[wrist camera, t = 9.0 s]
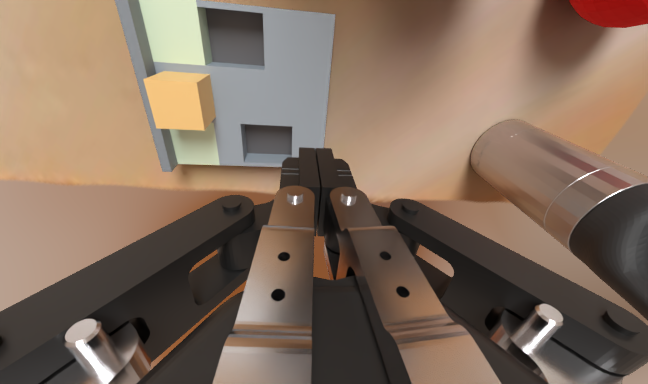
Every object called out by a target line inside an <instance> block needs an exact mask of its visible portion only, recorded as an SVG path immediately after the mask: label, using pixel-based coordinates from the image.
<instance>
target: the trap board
mask: <svg viewBox="0 0 648 384" xmlns="http://www.w3.org/2000/svg"><path fill="white" fill-rule="evenodd" d="M115 2H116V6H117V10H118V13H119V17H120V20H121V24H122V28H123V31H124V35H125V38H126V42H127V45H128V49H129V53H130V56H131V60H132V63H133V67H134V71H135V74H136V78H137V81H138V85H139V89H140V92H141V96H142V99H143V103H144V107H145V110H146V114H147V117H148V121H149V125H150V128H151V132H152V135H153V139H154V142H155V146H156V150H157V153H158V157H159V160H160V164H161V168H162V171H165V172H172V171H173V169H174V168H175V167H176V166H177V164H195V165H228V166H262V167H282V162H283V161H284V160H285V159H286V158H287V157H297V158H299V147H305V148H315V149H316V148H324V138H325V127H326V116H327V104H328V93H329V82H330V71H331V59H332V48H333V37H334V25H335V14H327V13H317V12H307V11H298V10H288V9H278V8H269V7H259V6H250V5H240V4H230V3H221V2H211V1H201V0H115ZM163 71H171V72H185V73H199V74H210V78H211V86H212V93H213V100H214V107H215V114H216V117H215V118H214V120H213V121H212V122H211V123H210V125H209V126H208V127H207V128H206V130H205V131H203V130H181V129H158V128H156V125H155V121H154V118H153V114H152V110H151V106H150V103H149V99H148V95H147V91H146V88H145V84H144V80H143V79H145V78H148V77H150V76H153V75H155V74H158V73H160V72H163Z"/></svg>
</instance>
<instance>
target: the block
mask: <svg viewBox="0 0 648 384" xmlns="http://www.w3.org/2000/svg"><path fill="white" fill-rule="evenodd" d="M143 80H144V84H145V88H146V91H147V95H148V99H149V103H150V106H151V110H152V114H153V118H154V121H155V125H156V128H158V129H181V130H203V131H205V130H206V128H207V127H208V126H209V125H210V123H211V122H212V121H213V120H214V118H215V117H216V114H215V107H214V100H213V93H212V86H211V78H210V74H199V73H185V72H171V71H163V72H160V73H158V74H155V75H153V76H150V77H148V78H145V79H143Z"/></svg>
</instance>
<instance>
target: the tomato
mask: <svg viewBox="0 0 648 384" xmlns="http://www.w3.org/2000/svg"><path fill="white" fill-rule="evenodd" d="M569 2H570V4H571V5H572V7H573V8H574V9H575V11H576V12H577V13H578V14H579V15H580V16H581V17H582V18H584V19H585V20H587V21H589V22H591V23H593V24H596V25H599V26H602V27H617V28H626V27H632V26H637V25H643V24H648V0H569Z"/></svg>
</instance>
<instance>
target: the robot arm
mask: <svg viewBox="0 0 648 384" xmlns="http://www.w3.org/2000/svg"><path fill="white" fill-rule="evenodd" d="M471 166H472V168H473V170H474V171H475V172H476V173H477V174H478V175H480V176H481V177H482V178H483V179H484V180H486V181H487V182H488V183H489V184H490V185H491V186H492V187H494V188H495V189H496V190H497V191H498V192H500V193H501V194H502V195H503V196H504V197H506V198H507V199H508V200H509V201H510V202H512V203H513V204H514V205H515V206H516V207H518V208H519V209H520V210H521V211H522V212H524V213H525V214H526V215H527V216H528V217H530V218H531V219H532V220H533V221H534V222H536V223H537V224H538V225H539V226H540V227H542V228H543V229H544V230H545V231H546V232H547V233H549V234H550V235H551V236H552V237H554V238H555V239H556V240H557V241H558V242H560V243H561V244H562V245H563V246H565V247H566V248H567V249H568V250H569V251H570V252H572V253H573V254H574V255H575V256H576V257H577V258H579V259H580V260H581V261H582V262H583V263H585V264H586V265H587V266H588V267H589V268H590V269H591V270H592V271H593V272H594V273H595V274H596V275H597V276H598V277H599V278H600V279H602V280H603V281H604V282H605V283H606V284H607V285H608V286H610V287H611V288H612V289H613V290H615V292H617V293H618V294H619V295H620V296H621V297H622V298H624V299H625V300H626V301H627V302H628V303H629V304H630V305H632V307H634V308H635V309H636V310H637V311H638V312H639V313H640V314H641V315H642V316H643V317H645V318H646V319H647V320H648V176H646V175H644V174H641V173H639V172H637V171H635V170H632V169H630V168H627V167H625V166H623V165H620V164H618V163H616V162H614V161H611V160H609V159H607V158H605V157H602V156H600V155H598V154H596V153H593V152H591V151H589V150H587V149H584V148H582V147H580V146H578V145H575V144H573V143H571V142H569V141H566V140H564V139H562V138H560V137H557V136H555V135H553V134H551V133H548V132H546V131H544V130H542V129H540V128H537V127H535V126H533V125H531V124H528V123H526V122H524V121H521V120H507V121H504V122H501V123H498V124H496V125H495V126H493V127H491V128H490V129H489V130H487V131H486V132H485V133H484V134H483V135H482V136H481V137H480V138H479V140H478V141H477V142H476V144H475V146H474V148H473V150H472V153H471ZM316 231H317V234H318V236H324V238H325V244H324V255H325V259H326V264H327V268H328V272H329V277H330V280H327V279H322V278H317V277H313V263H314V236H316ZM420 244H421V245H422V246H424V247H426V248H427V249H429V250H430V251H432V252H433V253H435V254H437V255H438V256H440V257H442V258H443V259H445V260H446V261H448V262H449V263H450V264H451V265H452V267H453V269H454V276H453V277H450V276H448V275H446V274H445V273H443V272H442V271H440V270H439V269H437V268H435V267H434V266H432V265H431V264H429V263H428V262H426V261H425V260H423V259H422V258H420V257H419V256H417V255H416V253H417V250H418V248H419V245H420ZM216 249H217V251H218V254H216V255H215V256H214V257H212V258H211V259H209V260H208V261H206V262H205V263H203V264H202V265H200V266H199V267H198V268H196V269H195V270H193V271H192V272H190V270H191V269H192V267H193V266H194V265H195V264H196V263H197V262H199V261H200V260H202V259H203V258H205V257H206V256H208V255H209V254H211V253H212V252H214V251H215V250H216ZM189 272H190V273H189ZM246 280H247V283H246V286H245V290H244V291H242V292H240V293H238V294H237V295H235V296H233V297H231V298H230V299H229V300H227V301H226V302H224V303H223V304H222V305H221V306H220V307H218V308H217V309H216V310H215V311H214V312H213V313H212V314H211V315H210V316H209V317H208V318H206V319H205V320H204V321H203V322H202V323H201V324H200V325H199V326H198V327H197V328H196V329H195V330H194V331H193V332H191V333H190V334H189V335H188V336H187V337H186V338H185V339H184V340H183V341H182V342H181V343H180V344H178V345H177V346H176V347H175V348H174V349H173V350H172V351H171V352H170V353H169V354H168V355H167V356H166V357H164V358H163V359H162V360H161V361H160V362H159V363H158V364H157V365H156V366H155V367H154V368H153V369H152V370H150V367H151V362H152V361H153V360H155V359H156V358H157V357H158V356H159V355H161V354H162V353H163V352H164V351H165V350H166V349H167V348H168V347H170V346H171V345H172V344H173V343H174V342H175V341H177V340H178V339H179V338H180V337H181V336H182V335H183V334H185V333H186V332H187V331H188V330H189V329H191V328H192V327H193V326H194V325H195V324H196V323H197V322H199V321H200V320H201V319H202V318H203V317H204V316H205V315H207V314H208V313H209V312H210V311H211V310H212V309H213V308H215V307H216V306H217V305H218V304H219V303H220V302H222V301H223V300H224V299H225V298H226V297H227V296H229V295H230V294H231V293H232V292H233V291H234V290H235V289H236V288H238V287H239V286H240V285H241V284H242V283H243V282H245V281H246ZM647 362H648V326H647V325H646V324H645V323H644V322H643V321H641V320H640V319H639V318H638V317H636V316H635V315H633V314H632V313H630V312H629V311H627V310H625V309H624V308H622V307H620V306H618V305H616V304H614V303H612V302H610V301H608V300H606V299H604V298H602V297H601V296H599V295H597V294H595V293H593V292H591V291H589V290H587V289H585V288H583V287H581V286H579V285H577V284H576V283H574V282H571V281H570V280H568V279H566V278H564V277H562V276H560V275H558V274H556V273H554V272H552V271H550V270H549V269H546V268H545V267H543V266H541V265H539V264H537V263H535V262H533V261H531V260H529V259H527V258H525V257H523V256H521V255H520V254H518V253H516V252H514V251H512V250H510V249H508V248H506V247H504V246H502V245H500V244H498V243H496V242H494V241H493V240H490V239H489V238H487V237H485V236H483V235H481V234H479V233H477V232H475V231H473V230H471V229H469V228H467V227H465V226H464V225H462V224H459V223H458V222H456V221H454V220H452V219H450V218H448V217H446V216H444V215H442V214H440V213H438V212H437V211H434V210H433V209H430V208H429V207H427V206H425V205H423V204H421V203H419V202H417V201H414V200H410V199H396V200H394V201H393V202H392V203H391V205H390V208H386V207H381V206H377V205H373V204H371V203H370V201H369V200H368V198H367V196H366V194H365V193H363V192H362V191H360V190H358V189H357V187H356V185H355V182H354V179H353V176H352V174H351V171H350V168H349V165H348V164H347V163H346V162H345V161H344V160H342V159H334V157H333V153H332V149H331V148H316V149H315V148H305V147H299V158H297V157H287V158H286V159H285V160H284V161H283V162H282V170H281V180H280V190H278V191H277V193H276V195H275V199H274V200H272V201H270V202H268V203H265V204H260V205H254V203H253V202H252V200H251V199H249V198H248V197H245V196H240V195H230V196H225V197H222V198H219V199H217V200H215V201H213V202H211V203H209V204H207V205H205V206H203V207H202V208H200V209H198V210H196V211H194V212H192V213H190V214H188V215H186V216H184V217H182V218H180V219H178V220H176V221H175V222H173V223H171V224H169V225H167V226H165V227H163V228H161V229H159V230H157V231H155V232H153V233H151V234H149V235H148V236H146V237H144V238H142V239H140V240H138V241H136V242H134V243H132V244H130V245H128V246H126V247H125V248H122V249H120V250H118V251H117V252H115V253H113V254H111V255H109V256H107V257H105V258H103V259H101V260H99V261H97V262H95V263H93V264H91V265H90V266H88V267H86V268H84V269H82V270H80V271H78V272H76V273H74V274H72V275H70V276H68V277H67V278H64V279H62V280H61V281H59V282H57V283H55V284H53V285H51V286H49V287H47V288H45V289H43V290H41V291H39V292H37V293H36V294H34V295H32V296H30V297H28V298H26V299H24V300H22V301H20V302H18V303H16V304H14V305H12V306H11V307H8V308H6V309H5V310H3V311H1V312H0V384H622V380H623V379H624V378H625V377H627V376H628V375H629V374H631V373H633V372H634V371H636V370H637V369H639V368H640V367H641V366H643V365H644V364H646V363H647Z"/></svg>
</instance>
